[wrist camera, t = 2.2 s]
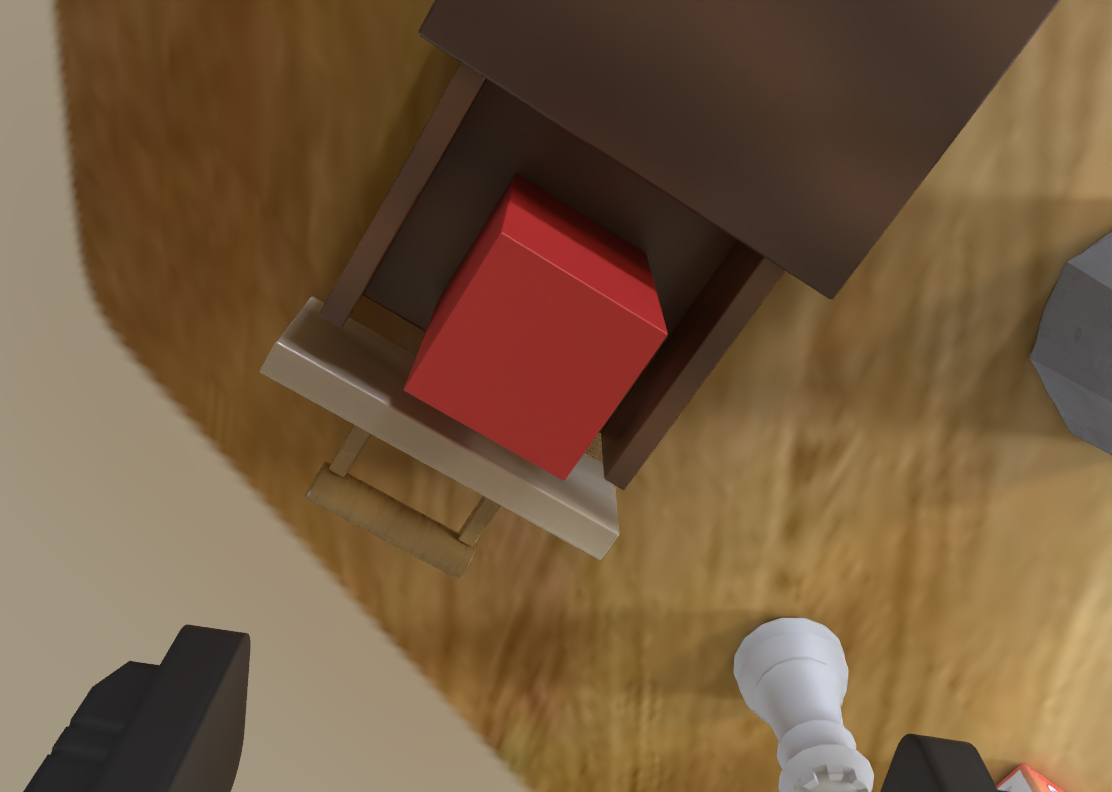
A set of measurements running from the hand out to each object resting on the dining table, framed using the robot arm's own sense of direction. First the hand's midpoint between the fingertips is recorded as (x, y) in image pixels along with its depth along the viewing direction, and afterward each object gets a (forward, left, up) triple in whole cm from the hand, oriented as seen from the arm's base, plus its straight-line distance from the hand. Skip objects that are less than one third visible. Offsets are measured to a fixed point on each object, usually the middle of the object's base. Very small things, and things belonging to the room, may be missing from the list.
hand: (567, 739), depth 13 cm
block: (0, -1, -23) cm, 23 cm away
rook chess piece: (+17, -10, -25) cm, 32 cm away
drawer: (0, -3, -24) cm, 24 cm away
